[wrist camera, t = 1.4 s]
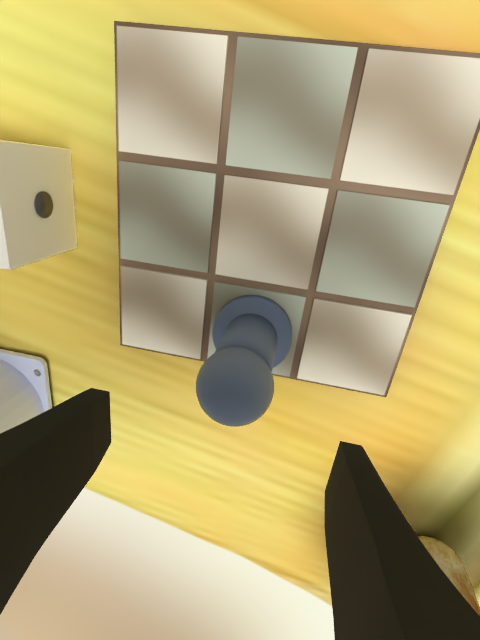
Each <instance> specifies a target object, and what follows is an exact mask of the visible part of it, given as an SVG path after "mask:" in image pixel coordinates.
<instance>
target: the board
mask: <svg viewBox="0 0 480 640" xmlns="http://www.w3.org/2000/svg"><path fill="white" fill-rule="evenodd" d="M114 33H115V84H116V135H117V186H118V237H119V288H120V339H121V345H123V346H128V347H133V348H138V349H143V350H148V351H153V352H158V353H164V354H169V355H174V356H179V357H184V358H189V359H194V360H199V361H204V362H205V361H206V360H207V359H208V358H209V357H210V356H211V355H213V354H214V353H215V351H216V348H215V345H214V342H213V336H212V330H213V325H214V322H215V320H216V318H217V316H218V314H219V313H220V311H221V310H222V308H223V307H224V306H225V305H226V304H227V303H228V302H230V301H231V300H233V299H235V298H237V297H240V296H243V295H260V296H264V297H267V298H269V299H271V300H273V301H275V302H276V303H278V304H279V305H280V306H281V307H282V308H283V309H284V310H285V312H286V313H287V315H288V317H289V319H290V322H291V326H292V341H291V347H290V350H289V352H288V354H287V356H286V357H285V359H284V360H283V361H282V362H281V363H280V364H279V365H277V366H276V367H274V368H272V375H276V376H281V377H286V378H291V379H296V380H301V381H306V382H311V383H317V384H322V385H327V386H332V387H337V388H342V389H347V390H352V391H357V392H362V393H368V394H373V395H378V396H383V397H386V396H387V394H388V391H389V388H390V385H391V382H392V379H393V376H394V374H395V371H396V368H397V365H398V362H399V359H400V356H401V353H402V351H403V348H404V345H405V342H406V339H407V336H408V333H409V330H410V328H411V325H412V322H413V319H414V316H415V313H416V310H417V308H418V305H419V302H420V299H421V296H422V293H423V290H424V287H425V285H426V282H427V279H428V276H429V273H430V270H431V267H432V264H433V262H434V259H435V256H436V253H437V250H438V247H439V244H440V242H441V239H442V236H443V233H444V230H445V227H446V224H447V221H448V219H449V216H450V213H451V210H452V207H453V204H454V201H455V198H456V196H457V193H458V190H459V187H460V184H461V181H462V178H463V176H464V173H465V170H466V167H467V164H468V161H469V158H470V155H471V153H472V150H473V147H474V144H475V141H476V138H477V135H478V132H479V130H480V53H469V52H458V51H447V50H436V49H424V48H413V47H402V46H390V45H379V44H368V43H357V42H345V41H334V40H323V39H312V38H300V37H289V36H278V35H267V34H255V33H244V32H233V31H222V30H210V29H199V28H188V27H177V26H165V25H154V24H143V23H132V22H120V21H114Z"/></svg>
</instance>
